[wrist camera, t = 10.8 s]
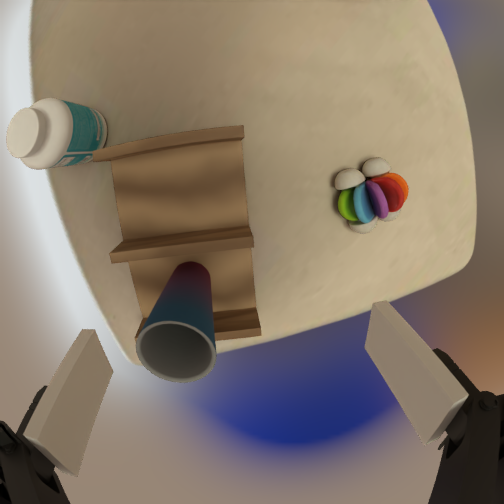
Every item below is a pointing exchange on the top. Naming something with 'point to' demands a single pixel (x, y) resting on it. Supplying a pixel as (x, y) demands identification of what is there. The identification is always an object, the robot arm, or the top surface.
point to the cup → (180, 328)
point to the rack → (187, 219)
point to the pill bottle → (55, 134)
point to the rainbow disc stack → (370, 195)
